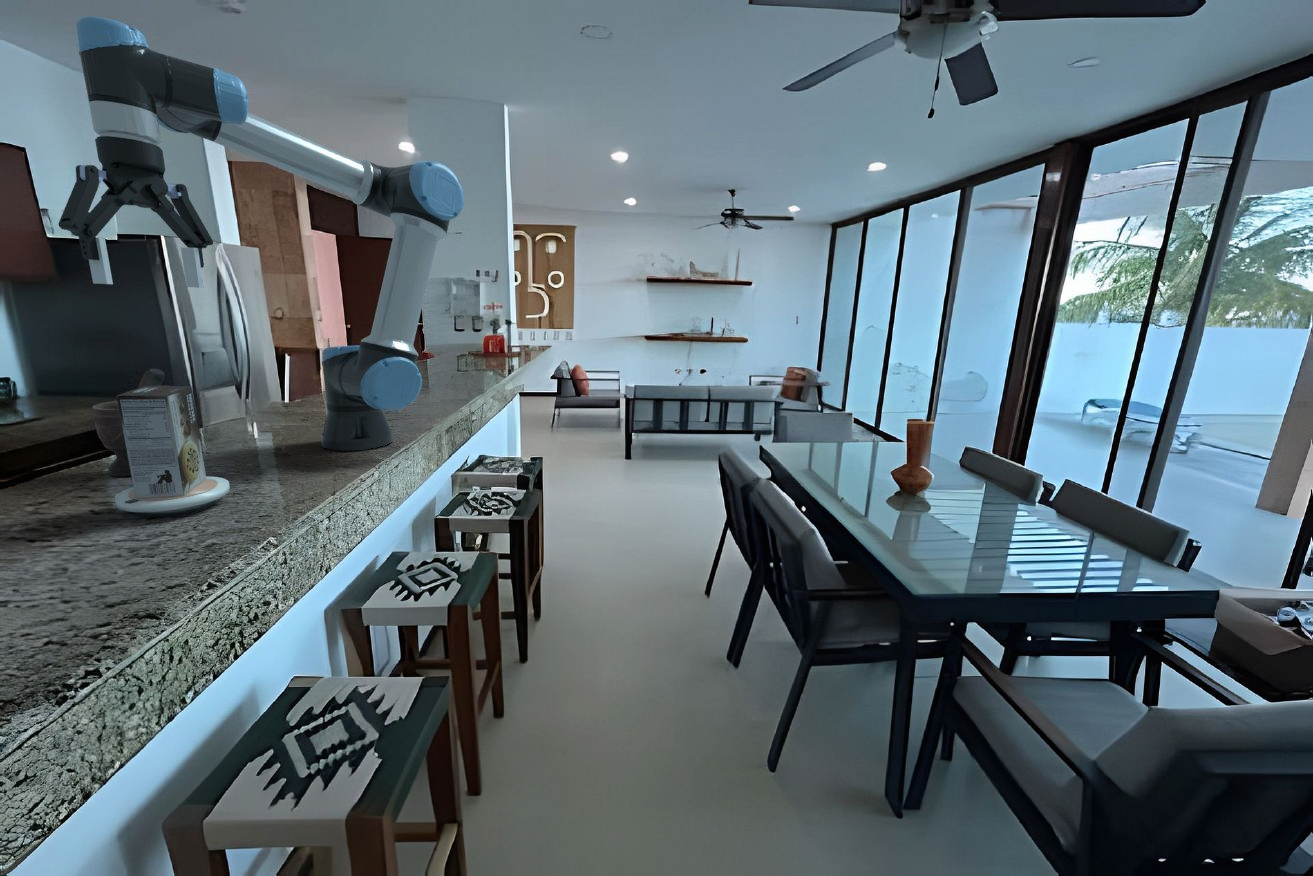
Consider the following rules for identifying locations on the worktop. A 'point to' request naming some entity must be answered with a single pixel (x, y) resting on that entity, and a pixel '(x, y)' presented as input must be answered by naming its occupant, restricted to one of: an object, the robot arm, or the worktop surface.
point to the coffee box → (162, 440)
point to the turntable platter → (197, 496)
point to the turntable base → (176, 511)
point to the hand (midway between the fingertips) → (152, 286)
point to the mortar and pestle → (119, 426)
